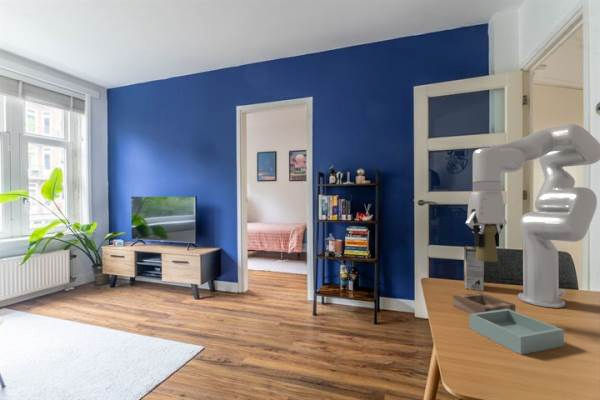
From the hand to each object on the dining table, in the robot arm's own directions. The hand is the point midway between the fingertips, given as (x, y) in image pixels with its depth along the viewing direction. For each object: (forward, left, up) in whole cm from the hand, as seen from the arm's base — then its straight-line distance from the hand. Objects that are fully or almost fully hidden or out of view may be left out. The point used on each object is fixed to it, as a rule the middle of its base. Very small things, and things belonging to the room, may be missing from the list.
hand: (486, 245), depth 88 cm
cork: (0, 0, -5) cm, 5 cm away
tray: (+6, +13, -21) cm, 26 cm away
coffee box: (-21, -24, -22) cm, 38 cm away
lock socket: (-2, -3, -21) cm, 22 cm away
